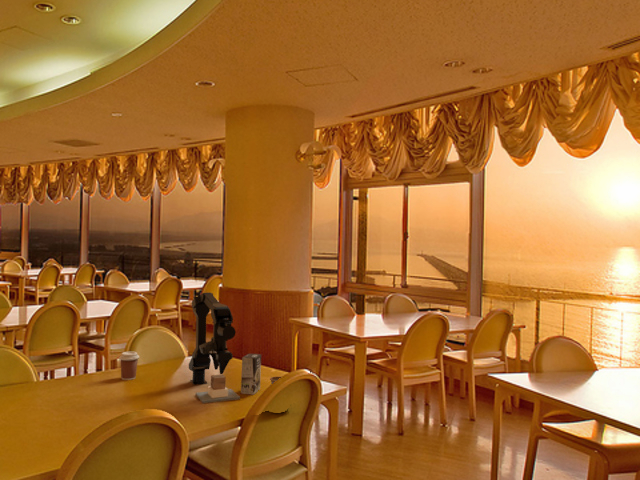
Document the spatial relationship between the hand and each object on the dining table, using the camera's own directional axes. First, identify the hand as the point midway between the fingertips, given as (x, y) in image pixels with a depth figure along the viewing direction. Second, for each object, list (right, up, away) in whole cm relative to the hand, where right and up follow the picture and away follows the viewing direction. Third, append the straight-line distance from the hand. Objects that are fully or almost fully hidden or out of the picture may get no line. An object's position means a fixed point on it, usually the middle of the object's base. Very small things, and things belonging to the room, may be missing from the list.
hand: (218, 371), depth 222 cm
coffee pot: (+31, -12, -12) cm, 35 cm away
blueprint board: (0, -11, 0) cm, 11 cm away
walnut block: (0, -7, 0) cm, 7 cm away
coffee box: (+12, -12, +10) cm, 20 cm away
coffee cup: (-48, -9, +24) cm, 54 cm away
